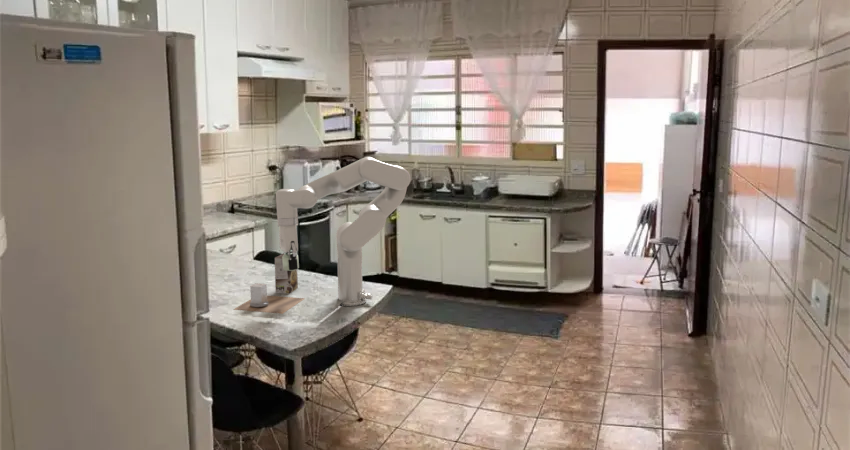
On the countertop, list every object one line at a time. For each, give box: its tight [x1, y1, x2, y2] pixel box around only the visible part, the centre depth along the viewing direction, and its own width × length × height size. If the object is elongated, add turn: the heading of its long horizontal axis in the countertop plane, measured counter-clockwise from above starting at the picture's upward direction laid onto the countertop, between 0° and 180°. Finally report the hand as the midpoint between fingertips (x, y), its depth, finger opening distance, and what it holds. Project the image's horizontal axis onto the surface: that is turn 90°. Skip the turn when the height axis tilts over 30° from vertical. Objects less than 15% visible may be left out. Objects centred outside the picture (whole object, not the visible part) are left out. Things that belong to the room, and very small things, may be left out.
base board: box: [233, 294, 305, 315], centre depth 264 cm, size 20×20×2 cm
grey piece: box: [249, 282, 268, 308], centre depth 261 cm, size 7×7×8 cm
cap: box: [282, 253, 300, 271], centre depth 265 cm, size 6×6×6 cm
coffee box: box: [274, 252, 299, 295], centre depth 282 cm, size 9×6×16 cm
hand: (291, 267), depth 265 cm, fingers closed on cap, 6 cm apart
